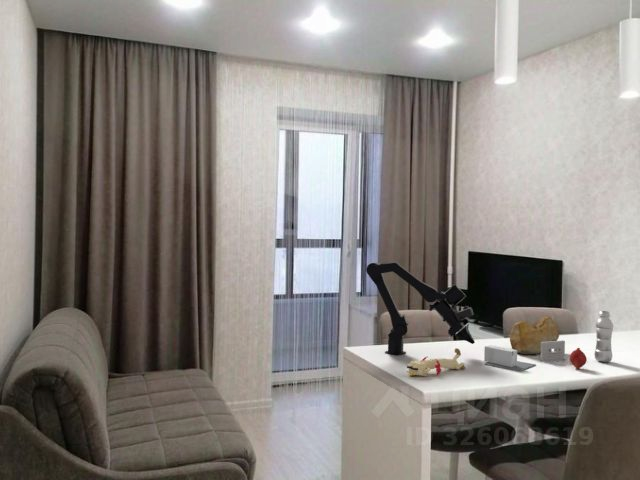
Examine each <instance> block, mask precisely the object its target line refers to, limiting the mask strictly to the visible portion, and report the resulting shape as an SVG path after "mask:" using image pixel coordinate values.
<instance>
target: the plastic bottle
mask: <svg viewBox="0 0 640 480" xmlns="http://www.w3.org/2000/svg"><path fill="white" fill-rule="evenodd" d="M598 315H599V318H598V319H597V320H596V322H595V332H596V334H595V335H596V343H595V350H594V353H593V354H594V359H595V360H596V361H599V362H601V363H610V362H611V361H612V360H613V351H612V336H613V332H614V330H613V329H614V324H613V322H612V320H611V318H610V316H611V313H610V311H607V310H600V311H599V314H598Z"/></svg>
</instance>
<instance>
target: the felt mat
mask: <svg viewBox="0 0 640 480" xmlns="http://www.w3.org/2000/svg"><path fill="white" fill-rule="evenodd" d="M484 365H485V366H491V367H495V368H499V369H500V368H501V369H506V370H511V371H515V372H522V371H523V372H524V371H525V370H528V369H530V367H531V368H533V367H535V366H537V364H536V363H530V362H524V361H519V360H517V366H513V367H508V366H503V365H499V364H494V363H490V362H486V363H484Z"/></svg>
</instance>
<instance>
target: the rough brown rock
mask: <svg viewBox="0 0 640 480" xmlns="http://www.w3.org/2000/svg"><path fill="white" fill-rule="evenodd" d="M559 337H560V334H559V329H558V325H557V323H556V322H555V321H554V320H553V319H552V317H551V316H549V315H548V316H544V317H541V318H539V319H537V321H535V323H534V324H531V323H529V322H528V321H518V322H515V323H514V324H513V327H512V329H511V332H510V334H509V342H510V347H511V349H514V350H517V354H521V355H532V354H533V355H537V354H541V342H549V341H559Z"/></svg>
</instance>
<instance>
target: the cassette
mask: <svg viewBox="0 0 640 480" xmlns="http://www.w3.org/2000/svg"><path fill="white" fill-rule="evenodd" d="M565 347H566V341H565V340H564V339H563V340H557V341H549V342H541V352H540V362H543V363H544V362H545V363H546V362H556V361H564V360H565V350H566V348H565ZM552 350H553V351H552Z"/></svg>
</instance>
